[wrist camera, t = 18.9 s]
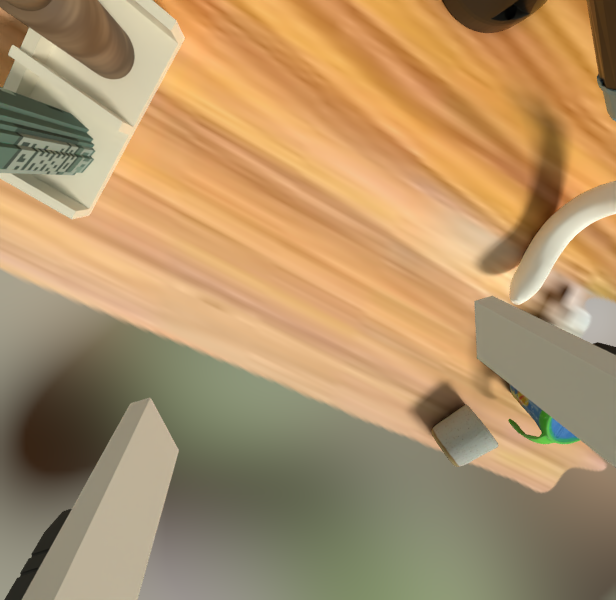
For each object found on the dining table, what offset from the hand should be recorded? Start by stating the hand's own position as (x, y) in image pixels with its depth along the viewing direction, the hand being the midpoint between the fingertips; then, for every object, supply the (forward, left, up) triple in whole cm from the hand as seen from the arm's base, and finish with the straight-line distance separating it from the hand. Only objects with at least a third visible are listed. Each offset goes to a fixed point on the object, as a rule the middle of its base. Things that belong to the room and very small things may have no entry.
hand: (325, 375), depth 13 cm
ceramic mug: (+9, +46, -32) cm, 57 cm away
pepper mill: (-6, -24, -31) cm, 40 cm away
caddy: (-1, -24, -32) cm, 40 cm away
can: (+4, -24, -31) cm, 40 cm away
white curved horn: (-22, +32, -32) cm, 50 cm away
